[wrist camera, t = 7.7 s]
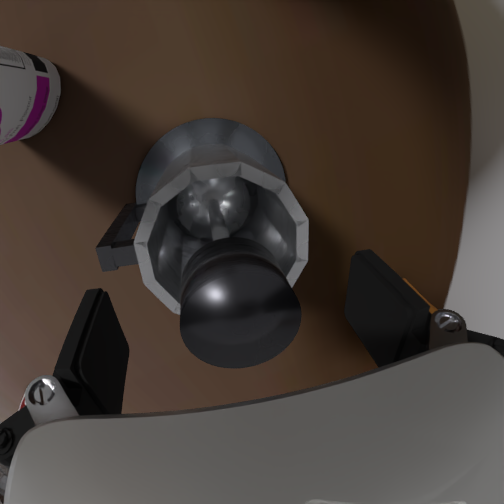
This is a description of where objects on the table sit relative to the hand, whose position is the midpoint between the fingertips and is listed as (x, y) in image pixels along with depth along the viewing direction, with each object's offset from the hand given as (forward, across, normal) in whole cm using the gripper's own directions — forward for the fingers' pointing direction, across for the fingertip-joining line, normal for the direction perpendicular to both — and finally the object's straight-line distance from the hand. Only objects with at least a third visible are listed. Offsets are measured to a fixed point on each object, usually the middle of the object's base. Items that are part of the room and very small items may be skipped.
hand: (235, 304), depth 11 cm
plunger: (+15, 0, +1) cm, 15 cm away
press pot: (+18, 0, +1) cm, 18 cm away
